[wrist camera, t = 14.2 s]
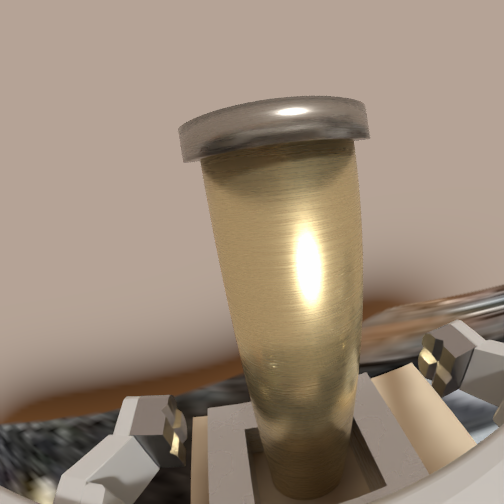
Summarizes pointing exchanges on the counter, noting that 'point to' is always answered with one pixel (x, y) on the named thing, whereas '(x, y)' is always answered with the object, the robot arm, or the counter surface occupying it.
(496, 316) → the counter surface
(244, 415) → the jig
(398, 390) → the jig plate
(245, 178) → the brass peg
